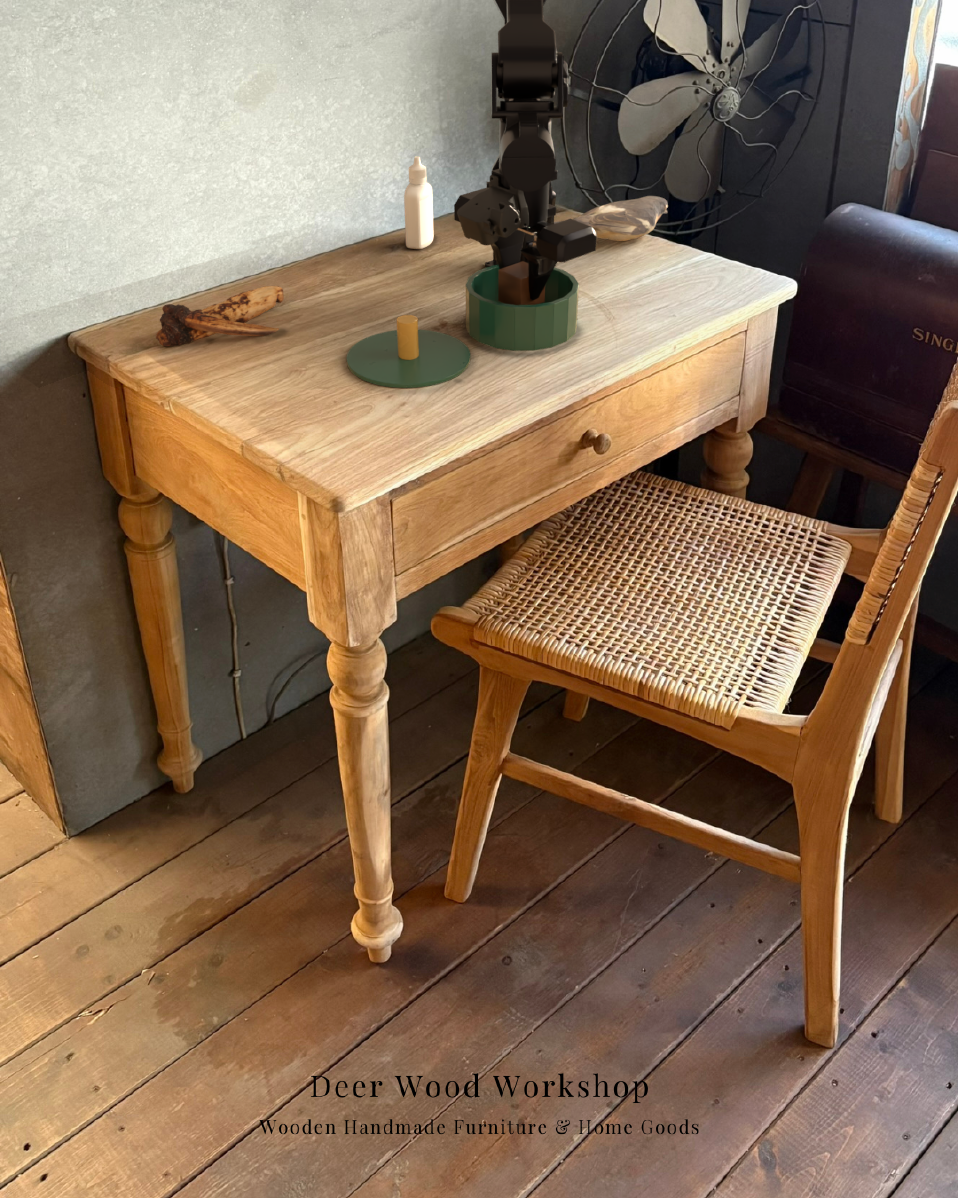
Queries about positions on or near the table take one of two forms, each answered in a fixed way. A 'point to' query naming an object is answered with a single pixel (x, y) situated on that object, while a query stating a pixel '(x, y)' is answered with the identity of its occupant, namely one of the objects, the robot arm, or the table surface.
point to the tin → (521, 313)
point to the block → (516, 286)
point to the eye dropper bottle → (418, 208)
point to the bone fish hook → (219, 317)
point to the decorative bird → (625, 218)
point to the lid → (408, 356)
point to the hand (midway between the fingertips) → (521, 293)
